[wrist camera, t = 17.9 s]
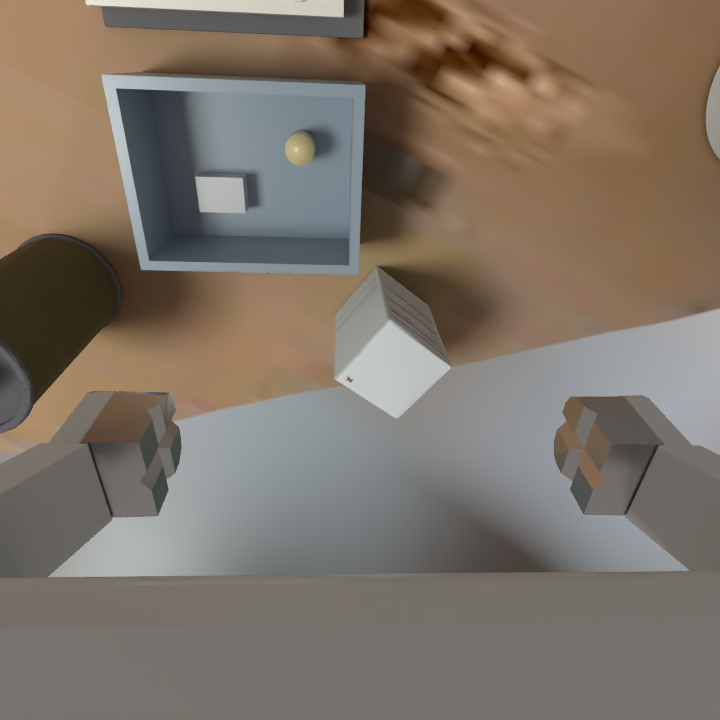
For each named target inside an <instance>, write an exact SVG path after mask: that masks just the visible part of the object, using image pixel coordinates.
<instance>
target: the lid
mask: <svg viewBox="0 0 720 720" xmlns="http://www.w3.org/2000/svg"><path fill="white" fill-rule="evenodd" d="M85 1H86V5H89V6H95V7H116V8H136V9H157V10H178V11H199V12H220V13H241V14H262V15H282V16H303V17H324V18H344V0H85Z"/></svg>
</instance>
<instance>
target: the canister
mask: <svg viewBox="0 0 720 720" xmlns="http://www.w3.org/2000/svg"><path fill="white" fill-rule="evenodd" d="M121 299H122V295H121V287H120V284H119V281H118V278H117V275H116V273H115V272H114V270H113V269H112V267H111V266H110V264H109V263H108V262H107V261H106V260H105V259H104V258H103V257H102V256H101V255H100V254H99V253H98V252H97V251H96V250H95V249H93V248H92V247H90V246H89V245H87V244H85V243H83V242H81V241H80V240H78V239H74V238H71V237H68V236H63V235H55V234H47V235H39V236H36V237H33V238H31V239H29V240H27V241H25V242H24V243H23V244H21V245H20V246H19V247H18V249H17V250H15V251H13V252H12V253H10V254H8V255H7V256H5V257H3V258H2V259H0V434H1V433H3V432H6V431H9V430H11V429H14V428H16V427H17V426H18V425H20V424H21V423H22V422H23V421H24V420H25V419H26V418H27V417H28V415H29V414H30V412H31V410H32V408H33V405H34V404H35V403H36V401H37V400H38V399H39V398H40V397H41V396H42V395H43V394H44V393H45V391H46V390H47V389H48V388H49V387H50V386H51V385H52V384H53V383H54V381H55V380H56V379H57V378H58V377H59V376H60V375H61V374H62V373H63V371H64V370H65V369H66V368H67V367H68V366H69V365H70V364H71V362H72V361H73V360H74V359H75V358H76V357H77V356H78V355H79V354H80V352H81V351H82V350H83V349H84V348H85V347H86V346H87V345H88V344H89V342H90V341H91V340H92V339H93V338H94V337H95V336H96V335H97V334H98V332H99V331H100V330H101V329H102V328H103V327H104V326H106V325H107V324H109V323H110V322H111V321H112V320H113V319H114V317H115V316H116V315H117V313H118V311H119V307H120V303H121Z"/></svg>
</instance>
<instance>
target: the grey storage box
mask: <svg viewBox="0 0 720 720" xmlns="http://www.w3.org/2000/svg"><path fill="white" fill-rule="evenodd" d="M101 76H102V81H103V86H104V91H105V96H106V101H107V106H108V111H109V115H110V120H111V125H112V130H113V135H114V140H115V145H116V150H117V155H118V160H119V164H120V169H121V174H122V179H123V184H124V189H125V194H126V199H127V204H128V209H129V213H130V218H131V223H132V228H133V233H134V238H135V243H136V248H137V253H138V258H139V262H140V267H141V270H163V271H209V272H254V273H299V274H345V275H358V274H359V247H360V221H361V194H362V168H363V141H364V114H365V88H366V85H365V84H364V83H363V82H362V81H345V80H321V79H297V78H273V77H249V76H225V75H201V74H177V73H152V72H134V73H117V74H101Z"/></svg>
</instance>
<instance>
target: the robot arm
mask: <svg viewBox="0 0 720 720" xmlns="http://www.w3.org/2000/svg"><path fill="white" fill-rule="evenodd" d="M706 130H707V135H708V139H709V142H710V145H711V147H712V149H713V151H714V152H715V154H716V155H717V157H718V158H719V159H720V66H719V68H718V70H717V73H716V75H715V77H714V80H713V83H712V86H711V89H710V93H709V96H708V101H707V108H706ZM175 410H176V409H175V405H174V401H173V397H172V396H171V395H170V394H169V393H158V392H123V391H119V392H116V391H92V392H90V393H87V394H86V395H85V397H84V398H83V399H82V401H81V402H80V403H79V404H78V406H77V407H76V408H75V410H74V411H73V412H72V414H71V415H70V416H69V417H68V419H67V420H66V421H65V423H64V424H63V425H62V427H61V428H60V429H59V431H58V432H57V433H56V434H55V436H54V437H53V438H52V440H51V441H50V442H49V443H40V444H38V445H36V446H34V447H32V448H31V449H29V450H27V451H25V452H23V453H21V454H19V455H17V456H15V457H13V458H12V459H10V460H8V461H6V462H4V463H2V464H0V720H720V455H718V454H716V453H714V452H712V451H710V450H708V449H706V448H704V447H702V446H692V445H691V444H690V442H689V441H688V440H687V439H686V438H685V437H684V436H683V435H682V434H681V433H680V432H679V431H678V429H677V428H676V427H675V426H674V425H673V424H672V423H671V422H670V421H669V420H668V419H667V418H666V417H665V415H664V414H663V413H662V412H661V411H660V410H659V409H658V408H657V407H656V406H655V405H654V403H652V401H651V400H650V399H649V398H646V397H644V396H642V395H641V396H617V397H570V398H569V399H568V401H567V402H566V404H565V407H564V410H563V414H564V416H565V418H566V420H567V422H565V423H564V424H563V425H562V426H561V427H560V428H558V429H557V432H556V436H555V440H554V456H555V460H556V463H557V466H558V468H559V470H560V472H561V473H562V474H563V475H565V476H566V477H568V478H569V479H571V480H572V481H573V482H572V485H571V488H570V490H571V492H572V494H573V496H574V498H575V499H576V501H577V503H578V505H579V507H580V509H581V510H582V512H583V514H586V515H626V518H627V519H628V520H629V521H630V522H632V523H633V524H634V525H635V526H636V527H638V528H639V529H640V530H641V531H643V532H644V533H645V534H646V535H647V536H649V537H650V538H651V539H652V540H654V541H655V542H656V543H657V544H658V545H660V546H661V547H662V548H663V549H665V550H666V551H667V552H668V553H669V554H671V555H672V556H673V557H674V558H676V559H677V560H678V561H679V562H680V563H682V564H683V565H684V566H685V567H687V568H688V569H689V570H690V571H666V572H664V571H661V572H660V571H659V572H658V571H657V572H560V573H558V572H555V573H554V572H551V573H440V574H439V573H438V574H437V573H435V574H348V575H347V574H344V575H343V574H340V575H244V576H141V577H49V578H48V576H49V575H50V574H51V573H53V572H54V571H55V570H56V569H57V568H58V567H59V566H60V565H62V564H63V563H64V562H65V561H66V560H67V559H68V558H69V557H71V556H72V555H73V554H74V553H75V552H76V551H77V550H79V549H80V548H81V547H82V546H83V545H84V544H85V543H86V542H88V541H89V540H90V539H91V538H92V537H93V536H94V535H96V534H97V533H98V532H99V531H100V530H101V529H102V528H104V527H105V526H106V525H107V524H108V523H109V522H110V521H111V520H112V517H143V516H158V514H159V512H160V510H161V507H162V505H163V502H164V500H165V497H166V495H167V492H168V485H167V479H168V478H169V477H171V476H172V475H173V474H175V472H176V470H177V467H178V464H179V460H180V454H181V435H180V430H179V427H178V426H177V425H176V424H175V423H174V422H173V421H171V419H172V417H173V415H174V413H175Z"/></svg>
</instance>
